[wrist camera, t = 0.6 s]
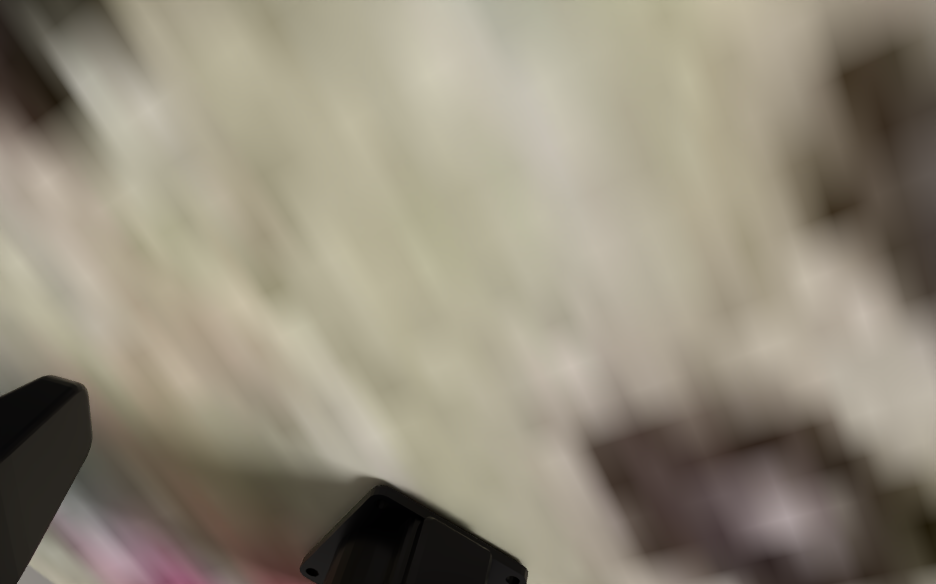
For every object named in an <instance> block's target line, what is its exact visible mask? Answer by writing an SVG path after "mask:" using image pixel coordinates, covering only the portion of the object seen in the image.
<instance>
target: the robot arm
mask: <svg viewBox="0 0 936 584" xmlns="http://www.w3.org/2000/svg"><path fill="white" fill-rule="evenodd" d="M91 443H92V426H91V416H90V406H89V396H88V391H87V389H86V388H85V386H84V385H83V384H81V383H79V382H75V381H72V380H68V379H65V378H61V377H58V376H52V375H48V376H44V377H41V378H38V379H36V380H34V381H32V382H30V383H28V384H26V385H24V386H21V387H19V388H17V389H15V390H13V391H11V392H9V393H7V394H5V395H3V396H1V397H0V584H17V582H18V581H19V579H20V577H21V575H22V574H23V572H24V571H25V568H26V567H27V565H28V564H29V562H30V560H31V558H32V557H33V555H34V553H35V551H36V549H37V547H38V545H39V544H40V542H41V540H42V538H43V536H44V534H45V533H46V531H47V529H48V527H49V525H50V523H51V522H52V520H53V518H54V516H55V514H56V512H57V511H58V509H59V507H60V505H61V503H62V501H63V500H64V498H65V496H66V494H67V492H68V490H69V488H70V487H71V485H72V483H73V481H74V479H75V477H76V476H77V474H78V472H79V470H80V468H81V466H82V465H83V463H84V461H85V459H86V457H87V455H88V453H89V450H90V447H91ZM300 572H301V573H302V575H303V576H305V577H306V578H308V579H310V580H311V581H313V582H315V583H317V584H526V583H527V577H528V571H527V569H526V568H525V567H524V566H523V565H521V564H520V563H518V562H516V561H515V560H513V559H511V558H510V557H508V556H506V555H504V554H503V553H501V552H499V551H498V550H496V549H494V548H493V547H491V546H489V545H487V544H486V543H484V542H482V541H481V540H479V539H477V538H476V537H474V536H472V535H470V534H469V533H467V532H465V531H464V530H462V529H460V528H459V527H457V526H455V525H453V524H452V523H450V522H448V521H447V520H445V519H443V518H442V517H440V516H438V515H436V514H435V513H433V512H431V511H430V510H428V509H426V508H425V507H423V506H421V505H419V504H418V503H416V502H414V501H413V500H411V499H409V498H408V497H406V496H404V495H402V494H401V493H399V492H397V491H396V490H394V489H392V488H390V487H388V486H382V485H381V486H376V487H374V488H373V489H372V490H371V491H370V492H369V493H368V494H367V495H366V496H365V497H364V498H363V499H362V500H361V501H360V502H359V503H358V504H357V505H356V506H355V507H354V508H353V509H352V510H351V511H350V512H349V513H348V514H347V515H346V516H345V517H344V518H343V519H342V520H341V521H340V522H339V523H338V524H337V525H336V526H335V527H334V528H333V529H332V530H331V531H330V532H329V533H328V534H327V535H326V536H325V537H324V538H323V539H322V540H321V541H320V542H319V543H318V544H317V545H316V546H315V547H314V548H313V549H312V550H311V551H310V552H309V553H308V554H307V555H306V556H305V558H304V560H303V562H302V564H301V567H300Z"/></svg>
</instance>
